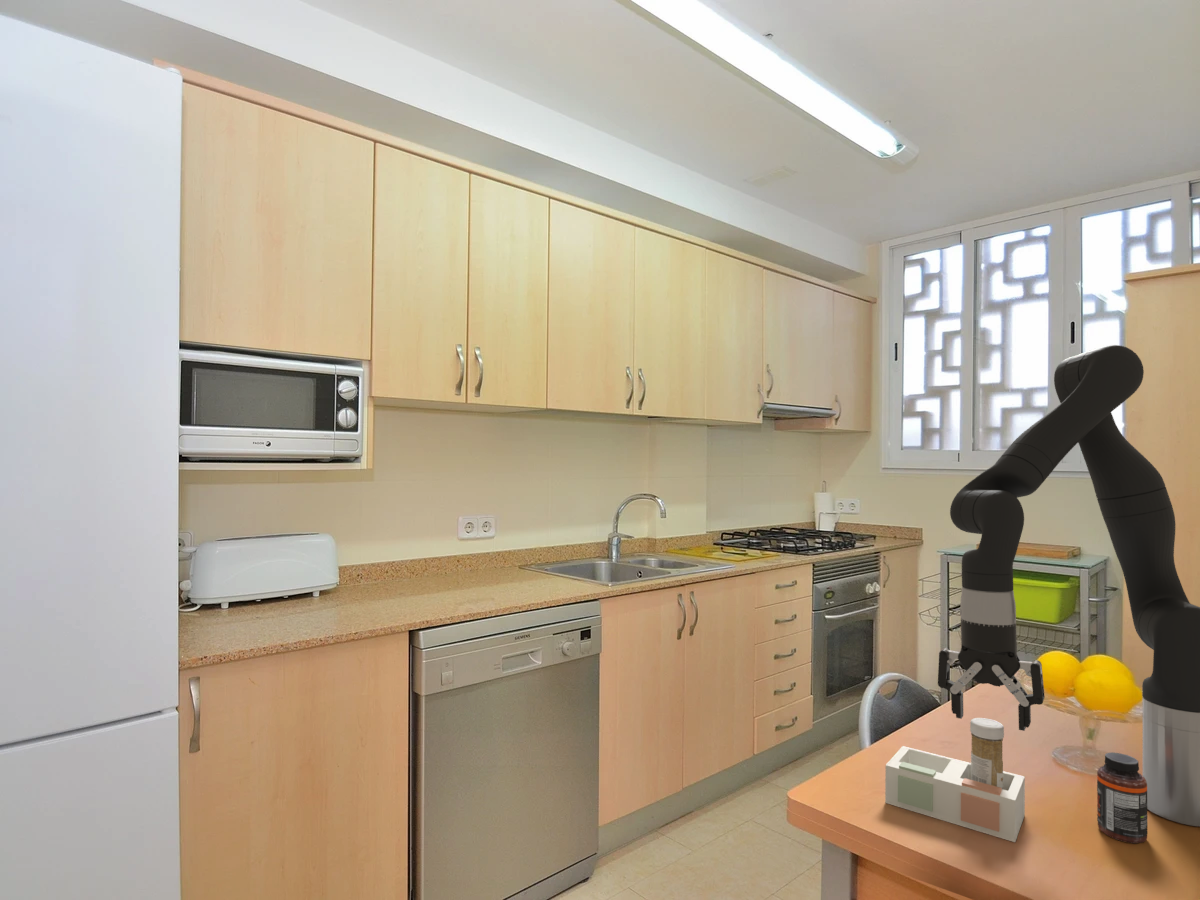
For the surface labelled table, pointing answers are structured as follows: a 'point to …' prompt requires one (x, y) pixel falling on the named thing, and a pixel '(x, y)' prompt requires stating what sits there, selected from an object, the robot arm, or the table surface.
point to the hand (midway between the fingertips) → (990, 722)
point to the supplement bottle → (1122, 799)
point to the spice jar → (987, 751)
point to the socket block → (954, 793)
